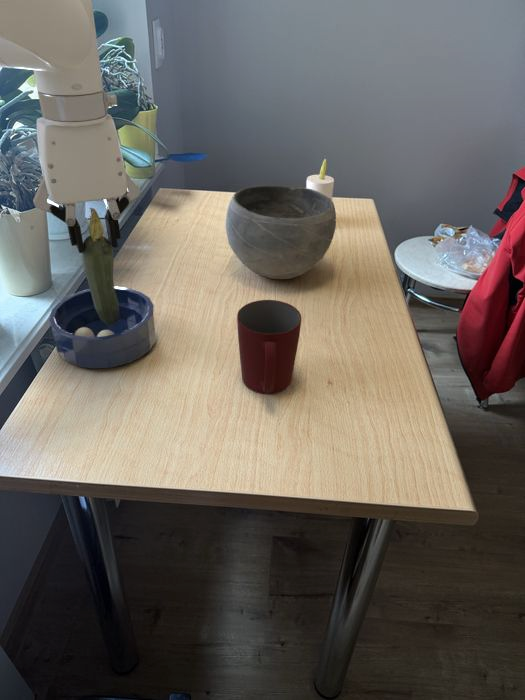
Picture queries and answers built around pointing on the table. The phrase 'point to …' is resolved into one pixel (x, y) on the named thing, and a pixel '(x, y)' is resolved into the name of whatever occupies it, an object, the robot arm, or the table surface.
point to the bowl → (280, 229)
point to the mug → (268, 344)
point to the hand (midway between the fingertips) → (96, 245)
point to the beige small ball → (84, 332)
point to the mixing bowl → (105, 351)
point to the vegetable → (100, 271)
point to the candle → (321, 182)
